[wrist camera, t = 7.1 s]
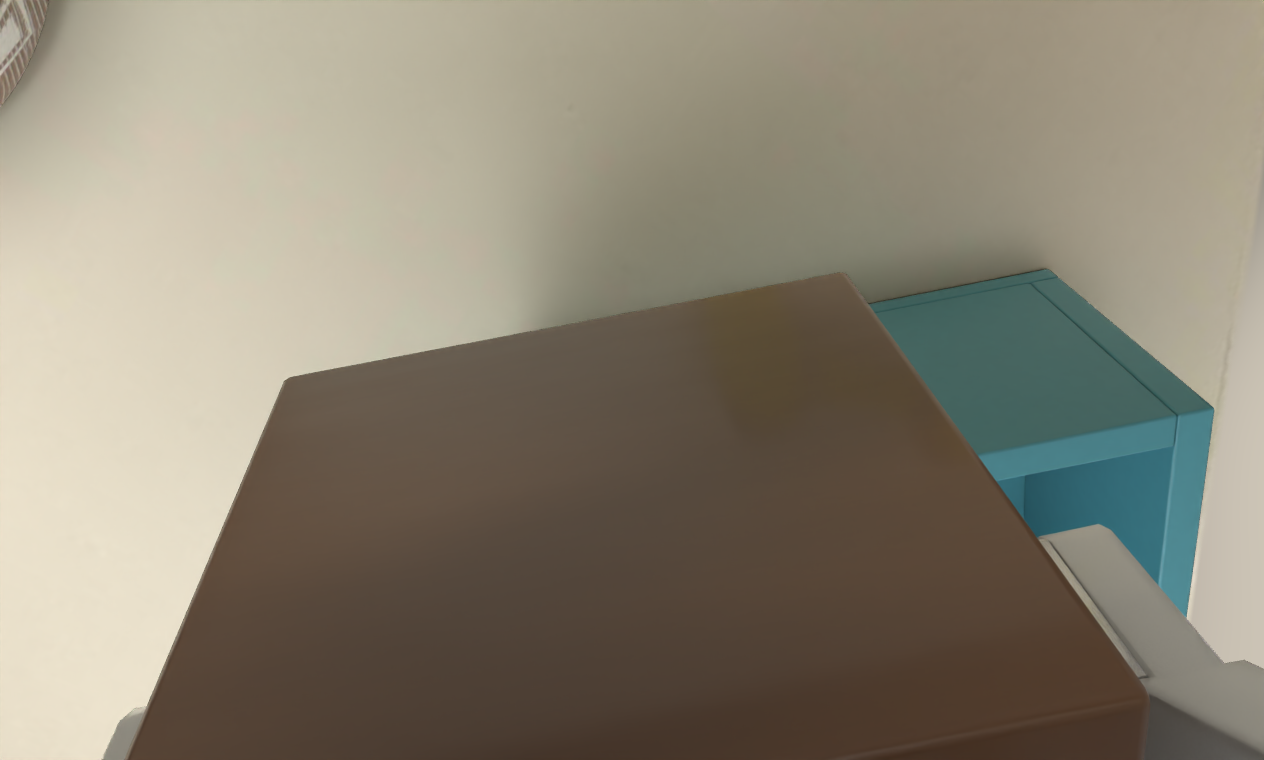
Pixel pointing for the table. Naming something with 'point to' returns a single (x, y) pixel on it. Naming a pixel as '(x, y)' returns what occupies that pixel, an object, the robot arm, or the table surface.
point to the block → (636, 561)
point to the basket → (1066, 413)
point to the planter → (18, 39)
